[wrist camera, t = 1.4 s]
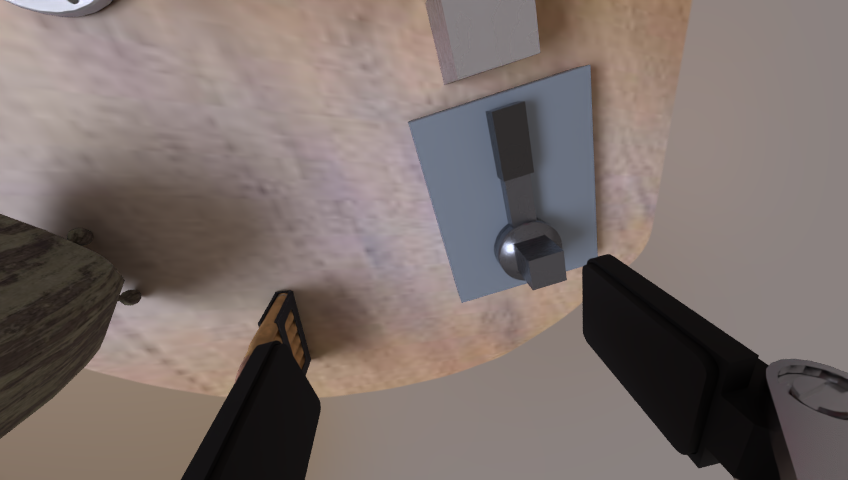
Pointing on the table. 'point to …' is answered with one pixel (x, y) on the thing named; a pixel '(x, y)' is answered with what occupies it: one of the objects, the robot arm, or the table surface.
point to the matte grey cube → (481, 34)
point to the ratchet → (522, 204)
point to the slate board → (481, 188)
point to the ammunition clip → (281, 329)
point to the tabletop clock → (49, 313)
